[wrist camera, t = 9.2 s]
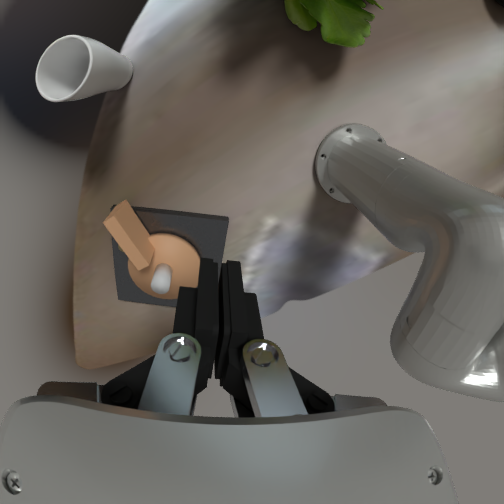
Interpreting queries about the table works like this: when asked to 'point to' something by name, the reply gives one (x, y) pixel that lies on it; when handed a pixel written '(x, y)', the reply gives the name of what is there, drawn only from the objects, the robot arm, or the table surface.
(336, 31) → the potted flower
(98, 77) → the drinking glass
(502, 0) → the decorative ball
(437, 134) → the table surface
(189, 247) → the wooden lever dial
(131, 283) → the base plate
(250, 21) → the table surface
